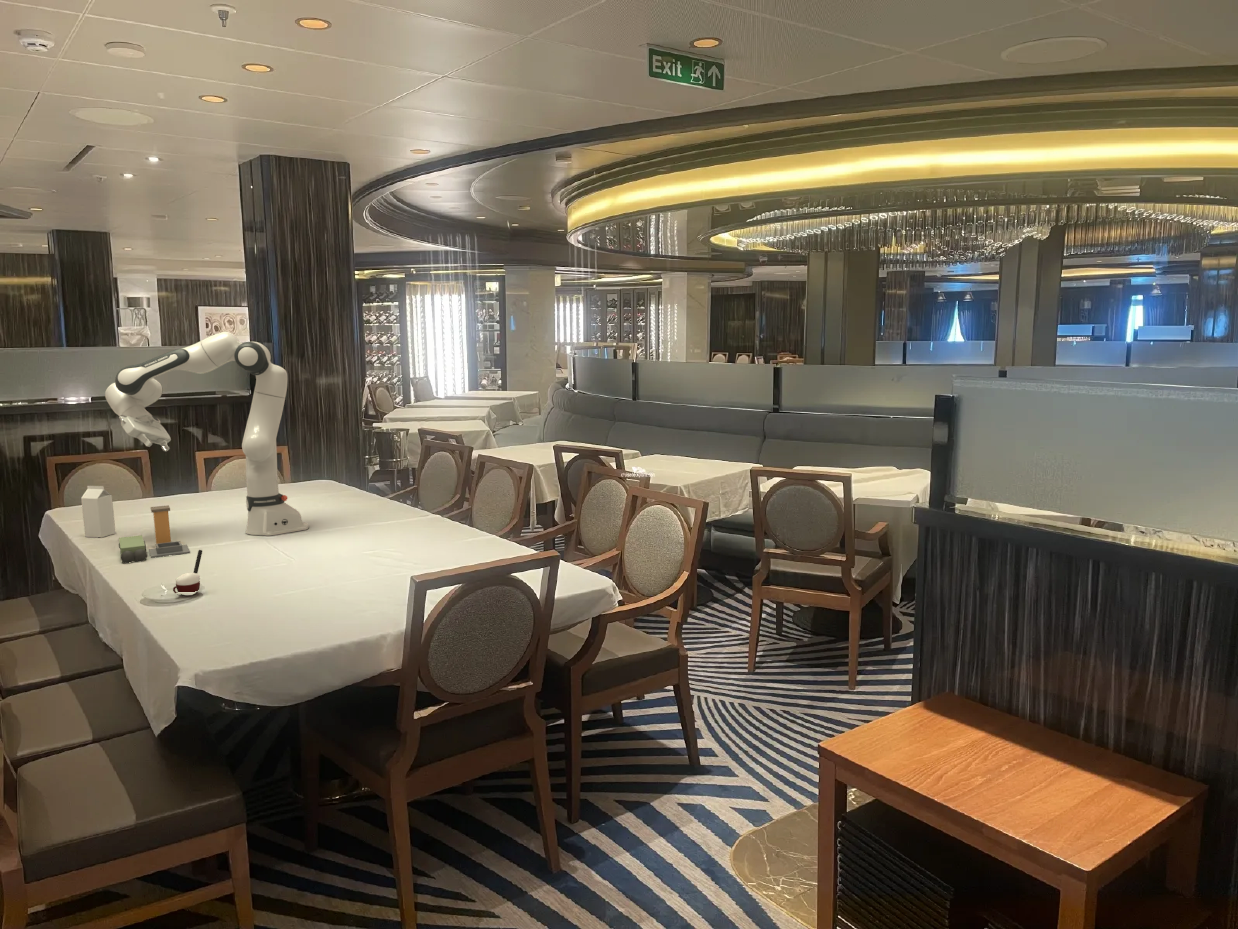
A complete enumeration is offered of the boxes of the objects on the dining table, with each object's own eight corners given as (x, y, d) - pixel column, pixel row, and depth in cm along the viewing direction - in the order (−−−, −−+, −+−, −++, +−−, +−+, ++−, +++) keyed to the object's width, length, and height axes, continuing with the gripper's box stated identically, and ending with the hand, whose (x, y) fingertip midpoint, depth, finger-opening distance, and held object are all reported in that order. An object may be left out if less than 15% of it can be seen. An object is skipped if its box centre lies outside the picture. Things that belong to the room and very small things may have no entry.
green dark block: (144, 548, 305) (143, 534, 304) (148, 560, 287) (146, 546, 287) (119, 551, 301) (117, 537, 300) (121, 564, 283) (119, 549, 283)
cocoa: (175, 601, 245) (169, 560, 242) (170, 595, 250) (165, 555, 247) (211, 593, 250) (206, 553, 248) (206, 587, 255) (201, 548, 253)
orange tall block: (172, 543, 312) (168, 505, 309) (173, 546, 307) (170, 507, 305) (154, 545, 309) (150, 507, 306) (155, 548, 304) (151, 509, 302)
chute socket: (186, 546, 307) (186, 538, 307) (190, 553, 297) (189, 545, 296) (148, 550, 301) (148, 543, 300) (150, 558, 291) (150, 550, 290)
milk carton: (101, 538, 321) (96, 487, 318) (85, 537, 322) (79, 487, 319) (116, 533, 328) (111, 484, 325) (99, 533, 329) (94, 484, 326)
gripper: (124, 407, 300) (145, 436, 297) (161, 420, 320) (182, 446, 317) (110, 419, 300) (132, 448, 297) (149, 431, 320) (169, 458, 317)
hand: (158, 447), depth 308 cm, fingers open, 8 cm apart
